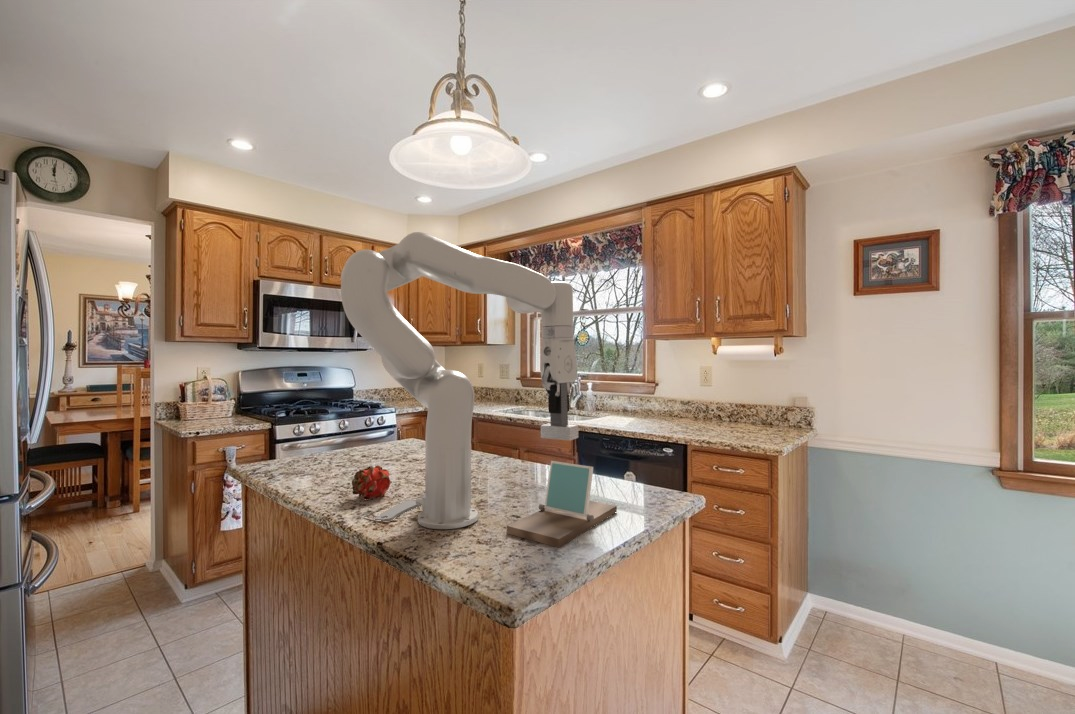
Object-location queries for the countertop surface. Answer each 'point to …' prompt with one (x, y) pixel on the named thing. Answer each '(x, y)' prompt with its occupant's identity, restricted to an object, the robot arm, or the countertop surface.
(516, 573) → the countertop surface
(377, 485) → the dragon fruit
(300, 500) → the countertop surface
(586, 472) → the tile
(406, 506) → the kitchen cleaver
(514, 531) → the board
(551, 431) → the rubber stamp
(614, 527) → the countertop surface
